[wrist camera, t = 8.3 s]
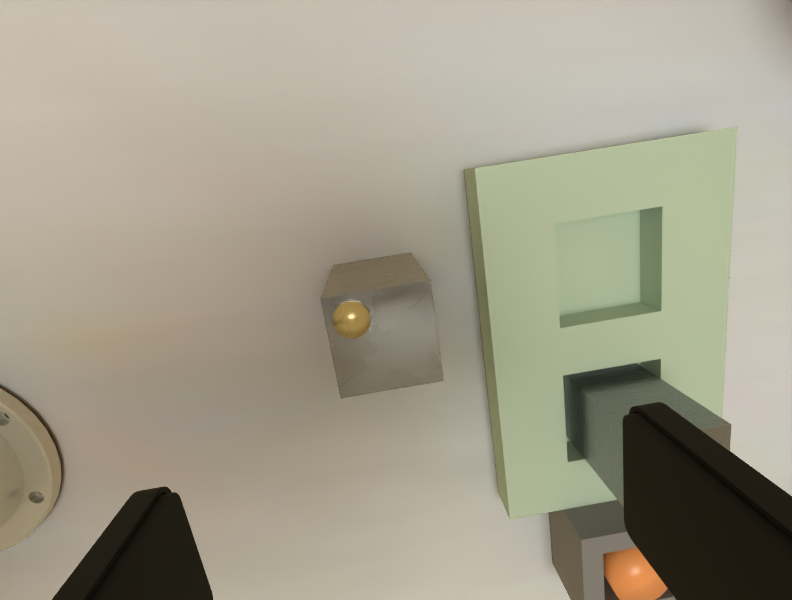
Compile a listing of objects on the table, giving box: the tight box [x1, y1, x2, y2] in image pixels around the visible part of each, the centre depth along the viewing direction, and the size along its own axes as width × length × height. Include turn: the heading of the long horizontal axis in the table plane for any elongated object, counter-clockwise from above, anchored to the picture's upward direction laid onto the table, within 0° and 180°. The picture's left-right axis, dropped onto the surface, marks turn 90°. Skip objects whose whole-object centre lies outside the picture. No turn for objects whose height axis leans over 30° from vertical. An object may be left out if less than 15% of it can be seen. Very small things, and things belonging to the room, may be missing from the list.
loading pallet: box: [464, 127, 737, 600], centre depth 26 cm, size 29×14×5 cm, turn 9°
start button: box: [603, 548, 668, 600], centre depth 28 cm, size 4×4×3 cm
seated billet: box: [563, 363, 731, 507], centre depth 24 cm, size 5×5×8 cm
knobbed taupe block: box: [321, 253, 443, 398], centre depth 22 cm, size 5×5×8 cm
